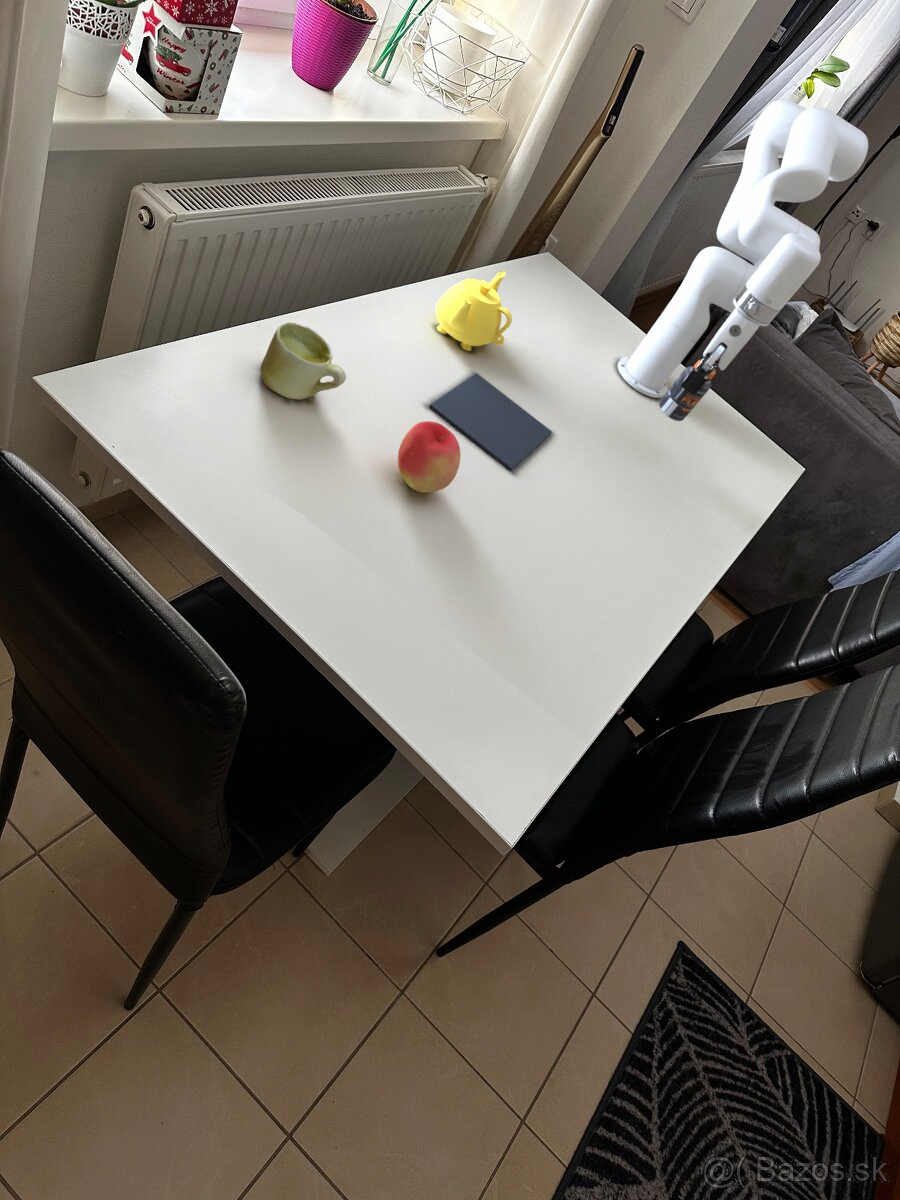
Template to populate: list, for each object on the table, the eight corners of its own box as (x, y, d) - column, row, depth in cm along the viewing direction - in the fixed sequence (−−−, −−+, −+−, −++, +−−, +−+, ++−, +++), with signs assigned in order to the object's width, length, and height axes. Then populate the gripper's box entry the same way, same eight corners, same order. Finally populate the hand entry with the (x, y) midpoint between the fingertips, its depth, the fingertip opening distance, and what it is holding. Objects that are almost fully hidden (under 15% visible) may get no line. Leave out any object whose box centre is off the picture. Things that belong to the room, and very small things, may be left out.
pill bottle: (668, 421, 163) (705, 376, 155) (652, 400, 165) (688, 353, 157) (688, 422, 166) (726, 378, 158) (673, 401, 169) (709, 356, 161)
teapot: (476, 376, 160) (504, 326, 152) (411, 331, 160) (436, 278, 152) (511, 341, 175) (539, 294, 167) (452, 299, 175) (477, 250, 167)
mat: (475, 375, 160) (476, 372, 160) (550, 433, 159) (552, 431, 159) (428, 406, 147) (430, 404, 147) (510, 471, 146) (512, 468, 146)
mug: (236, 363, 128) (277, 314, 124) (268, 360, 138) (307, 314, 134) (292, 424, 129) (334, 378, 125) (320, 417, 138) (360, 373, 134)
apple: (376, 481, 129) (402, 432, 122) (399, 451, 136) (425, 403, 129) (430, 515, 129) (459, 468, 123) (451, 484, 136) (479, 438, 130)
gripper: (763, 332, 142) (696, 412, 154) (783, 305, 154) (719, 381, 167) (727, 305, 143) (663, 387, 155) (750, 280, 155) (688, 358, 167)
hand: (692, 383), depth 161 cm, fingers closed on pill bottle, 5 cm apart
